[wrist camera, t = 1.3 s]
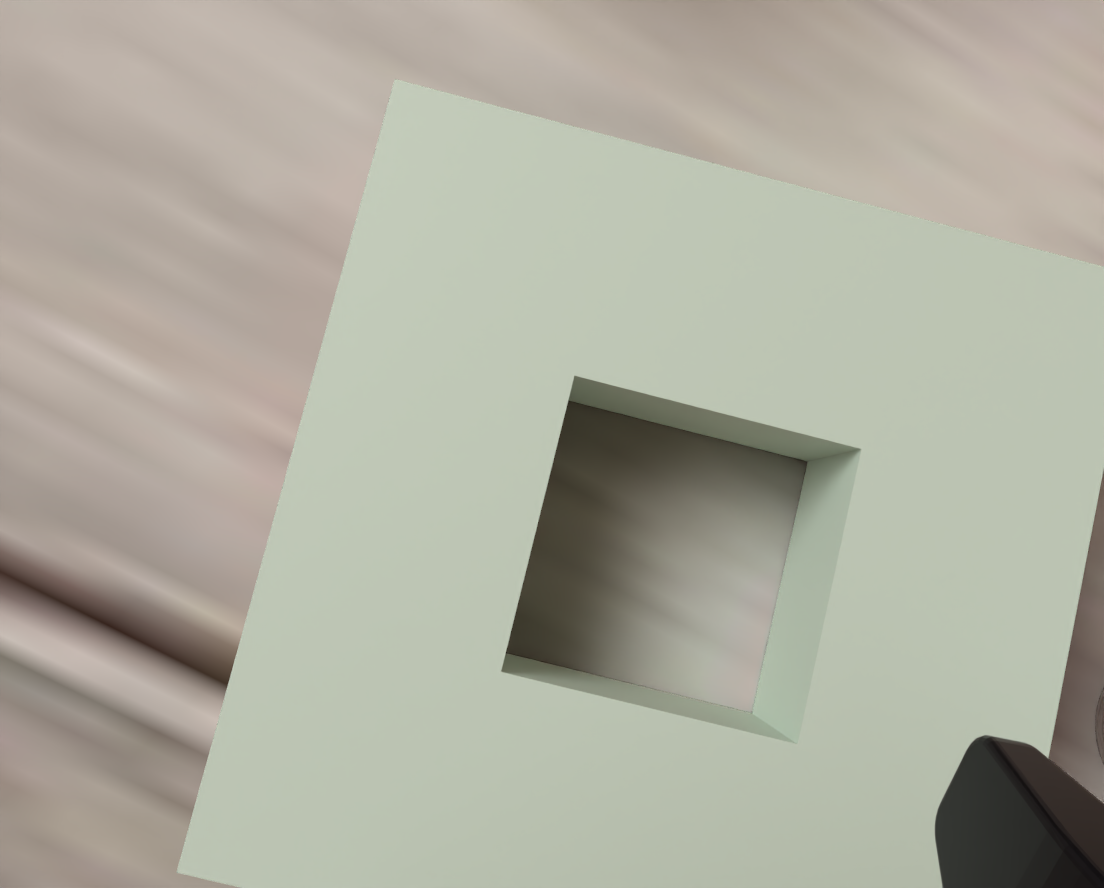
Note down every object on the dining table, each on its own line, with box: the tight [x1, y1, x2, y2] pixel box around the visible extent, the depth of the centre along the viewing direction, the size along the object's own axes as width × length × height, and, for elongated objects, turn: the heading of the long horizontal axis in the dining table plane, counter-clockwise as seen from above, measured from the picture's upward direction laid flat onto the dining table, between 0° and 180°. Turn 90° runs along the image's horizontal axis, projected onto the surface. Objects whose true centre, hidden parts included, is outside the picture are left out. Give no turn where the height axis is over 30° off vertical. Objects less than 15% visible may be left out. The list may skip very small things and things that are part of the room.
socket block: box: [176, 79, 1104, 888], centre depth 22 cm, size 16×16×4 cm
